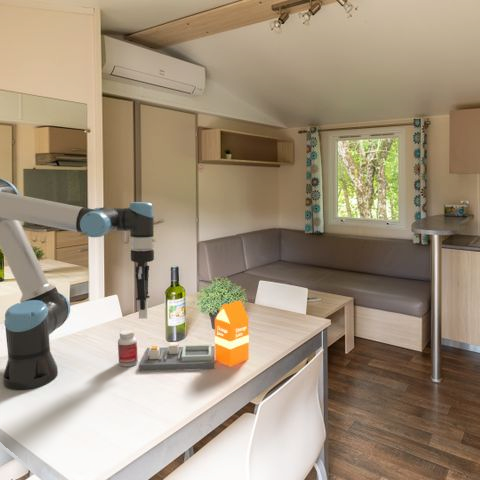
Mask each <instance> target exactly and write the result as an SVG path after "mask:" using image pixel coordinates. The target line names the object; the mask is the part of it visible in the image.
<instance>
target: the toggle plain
mask: <svg viewBox="0 0 480 480" xmlns="http://www.w3.org/2000/svg"><path fill="white" fill-rule="evenodd" d="M168 347H169V354H178V351H179V347H180V346H179V342H177V341H175V342H174V341H173V342H171V341H170V342H169V344H168Z"/></svg>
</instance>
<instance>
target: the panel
mask: <svg viewBox="0 0 480 480" xmlns="http://www.w3.org/2000/svg"><path fill="white" fill-rule="evenodd" d="M149 350H150V347H146V349H145V351H144V354H143V357H142V359H141V361H140V364H139V370H140V372H145V371H176V370H177V371H178V370H181V371H182V370H183V371H184V370H210V369H212V370H213V369H215V368H216V367H215V365H216V364H215V361H216V360H215V345H212V344H188V345H187V344H184V345H183V346H179V351H178V354H169V346H168V347H160V357H159V359H150V357H149Z"/></svg>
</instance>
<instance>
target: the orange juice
mask: <svg viewBox="0 0 480 480" xmlns="http://www.w3.org/2000/svg"><path fill="white" fill-rule="evenodd" d="M249 332H250V331H249V316H248V314H247V312H246V309H245V306H244V305H243V302H242V300H241V299H240V300H236V301H233V302H229V303H225V304H223V305H222V306H221V308H220V309H219V311H218V312H217V315H216V316H215V318H214V346H215V361H217V362H220V364H221V363H222V364H223V365H226V366H229V367H232V366H235V365H237V364H239V363H240V364H241V363H242V362H245V361H246V360H248V359H250V358H249V355H250V354H249V351H250V348H249V346H250V345H249V344H250V343H249V342H250V339H249V337H250V336H249V335H250V333H249Z"/></svg>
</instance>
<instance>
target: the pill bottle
mask: <svg viewBox="0 0 480 480" xmlns="http://www.w3.org/2000/svg"><path fill="white" fill-rule="evenodd" d="M117 350H118V352H117V355H118V356H117V357H118V364H119V366H121V367H125V368H128V367H129V368H130V367H134V366H136V365H137V363H139V362H138V361H139V360H138V357H139V356H138V340H137V338H136V337H135V331H134V330H132V329H123V330H121V331H120V332H119V338H118V340H117Z"/></svg>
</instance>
